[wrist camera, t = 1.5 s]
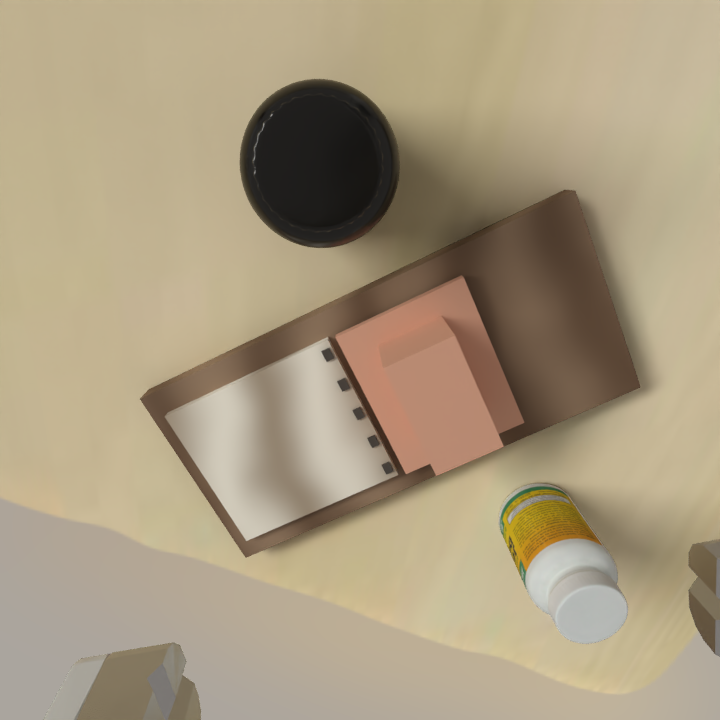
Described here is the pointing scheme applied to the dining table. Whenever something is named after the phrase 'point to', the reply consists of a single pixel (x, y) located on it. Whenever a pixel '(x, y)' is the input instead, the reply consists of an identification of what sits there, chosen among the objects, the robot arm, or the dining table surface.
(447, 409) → the stub
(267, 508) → the ticket board
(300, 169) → the supplement bottle
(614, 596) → the supplement bottle
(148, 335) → the dining table surface
